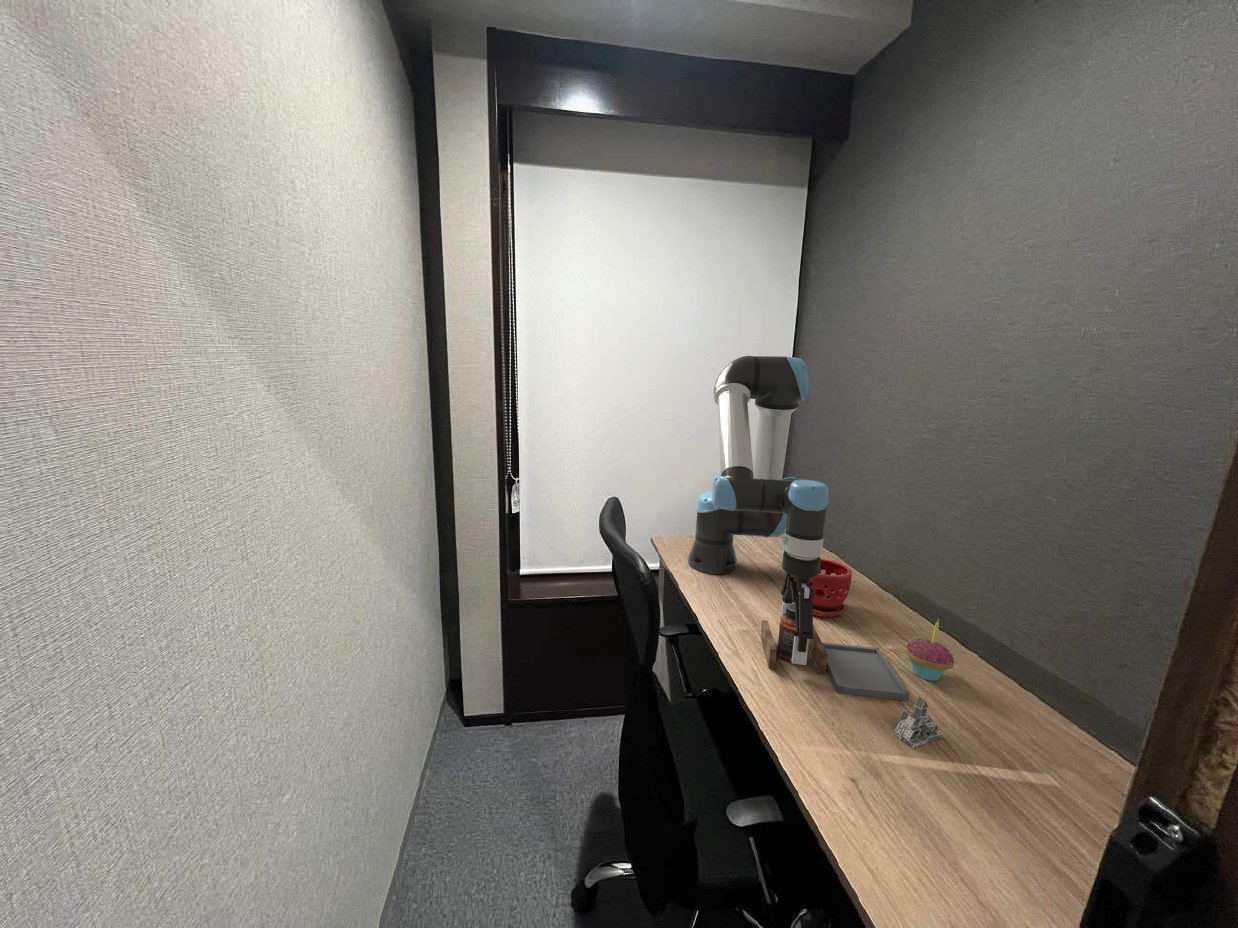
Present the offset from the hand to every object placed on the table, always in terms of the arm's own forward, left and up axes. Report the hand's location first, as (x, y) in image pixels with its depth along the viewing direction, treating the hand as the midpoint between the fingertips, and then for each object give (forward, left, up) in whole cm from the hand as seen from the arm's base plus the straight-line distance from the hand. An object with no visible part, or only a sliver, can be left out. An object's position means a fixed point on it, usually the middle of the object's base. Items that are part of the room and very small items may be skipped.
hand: (792, 645), depth 109 cm
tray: (+4, +13, -2) cm, 14 cm away
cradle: (0, 0, -2) cm, 2 cm away
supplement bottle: (0, 0, -3) cm, 3 cm away
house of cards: (+19, +17, -3) cm, 26 cm away
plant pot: (-24, +12, -3) cm, 27 cm away
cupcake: (+2, +27, -3) cm, 27 cm away
